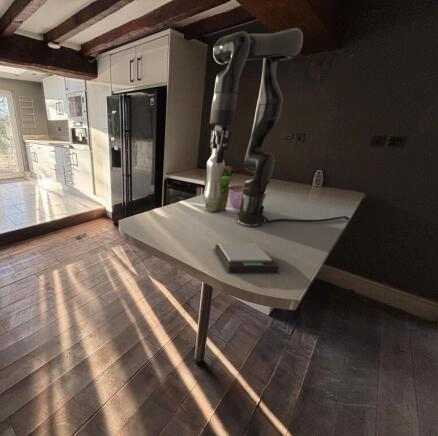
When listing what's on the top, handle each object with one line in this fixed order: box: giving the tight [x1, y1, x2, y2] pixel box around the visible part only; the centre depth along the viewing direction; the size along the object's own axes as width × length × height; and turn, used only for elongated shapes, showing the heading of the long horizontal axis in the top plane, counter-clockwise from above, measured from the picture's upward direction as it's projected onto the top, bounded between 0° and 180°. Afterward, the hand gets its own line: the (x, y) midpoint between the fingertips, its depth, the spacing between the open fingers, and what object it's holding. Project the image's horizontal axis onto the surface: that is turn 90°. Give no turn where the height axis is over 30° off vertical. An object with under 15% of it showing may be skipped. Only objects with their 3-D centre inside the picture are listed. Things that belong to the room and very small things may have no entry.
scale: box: [214, 243, 280, 274], centre depth 80 cm, size 16×14×3 cm
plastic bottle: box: [202, 148, 226, 204], centre depth 84 cm, size 6×7×20 cm
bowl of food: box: [228, 184, 268, 212], centre depth 127 cm, size 20×20×12 cm
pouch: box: [204, 163, 234, 213], centre depth 123 cm, size 11×12×25 cm
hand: (216, 161), depth 82 cm, fingers closed on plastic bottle, 6 cm apart
